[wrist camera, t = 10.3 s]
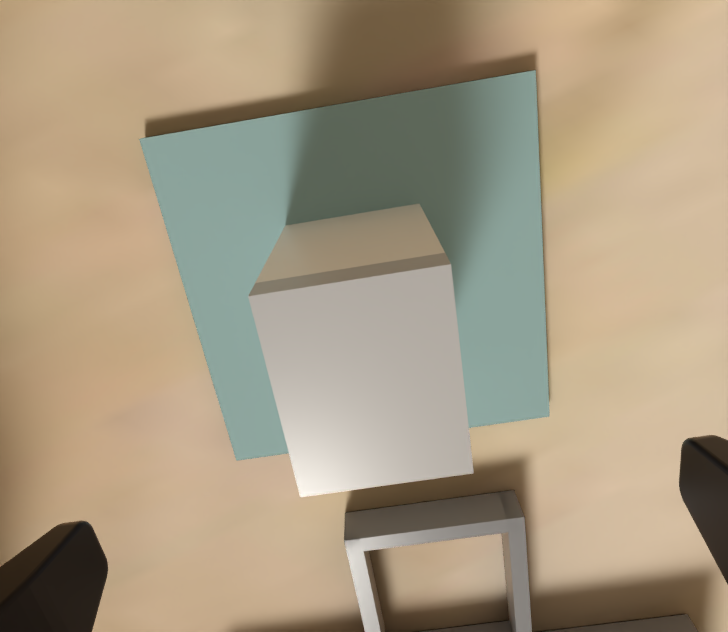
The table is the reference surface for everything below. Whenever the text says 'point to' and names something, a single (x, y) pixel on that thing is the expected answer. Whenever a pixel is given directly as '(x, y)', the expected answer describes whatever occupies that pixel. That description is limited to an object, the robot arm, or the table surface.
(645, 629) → the grey angular piece
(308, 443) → the light grey rectangular block
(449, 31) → the table surface
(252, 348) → the teal square plate
